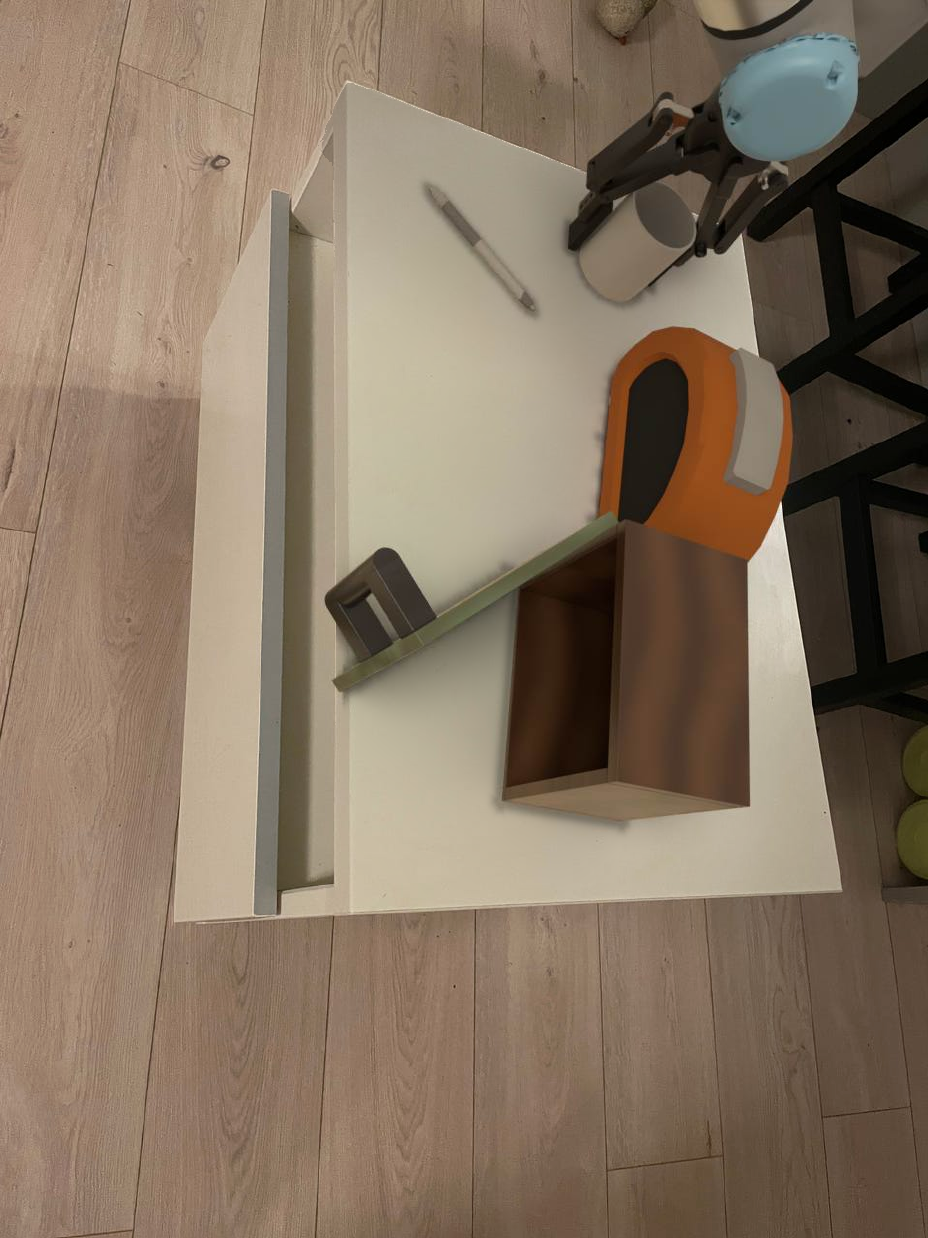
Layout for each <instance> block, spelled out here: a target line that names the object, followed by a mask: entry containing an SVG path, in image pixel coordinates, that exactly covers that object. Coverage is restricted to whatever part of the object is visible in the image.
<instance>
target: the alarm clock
mask: <svg viewBox="0 0 928 1238" xmlns="http://www.w3.org/2000/svg"><path fill="white" fill-rule="evenodd" d="M610 391H611V392H610V395H609V397H608V406H609V410H608V420H607V430H606V431H607V432H606V441H605V449H604V460H603V469H602V470H603V471H602V481H601V492H600V503H599V512H598V518H600V517H601V516H603V515H605V514H606V513H608V512H610V511H612V512H613V513H614V515H615V517H616V518H617V520H618V522H619V523H620V522H622V521H624V520H625V519H627V520H630V521H633V522H636V523H639V524H642V525H645V526H648V527H651V528H654V529H657V530H660V531H663V532H666V533H669V534H672V535H675V536H678V537H681V538H684V539H687V540H690V541H693V542H696V543H699V544H702V545H705V546H708V547H711V548H714V549H717V550H720V551H723V552H726V553H729V554H732V555H735V556H738V557H741V558H744V559H747V560H748V563H749V562H750V561H751V560H752V558H753V557H754V556H755V555H756V553H757V552H758V551H759V549H760V548H761V547H762V545H763V543H764V540H765V538H766V537H767V535H768V532H769V530H770V528H771V526H772V524H773V522H774V521H775V518H776V516H777V513H778V510H779V508H780V505H781V503H782V500H783V497H784V494H785V492H786V489H787V487H788V484H789V476H790V468H791V459H792V449H793V439H794V435H793V433H794V432H793V423H792V411H791V410H792V409H791V399H790V396H789V393H788V391H787V390H786V388H785V387H784V385H783V383H782V382H781V380H780V379H779V376H778V374H777V372H776V368H775V366H774V364H773V363H772V362H770V361H769V360H766V359H764V358H762V357H760V356H758V355H757V354H754V353H753V352H751V351H749V350H747V349H744V347H743V348H742V347H739V348H738V349H736V348H734V347H732V346H730V345H727V344H726V343H724V342H722V341H720V340H719V339H716V338H714V337H712V336H711V335H708V334H706V333H704V332H702V331H700V330H698V329H696V328H693V327H685V326H674V325H672V326H669V327H664V328H660V329H656V330H652V331H651V332H650V333H648V334H647V335H646V336H644V337H643V338H642V339H640V340H639V341H638V342H636V343H635V344H634V345H633V346H632V347H631V348H630V349H629V350H628V351H627V352H626V353H625V354H624V356H623V357H622V358H621V359H620V360H619V362H618V364H617V366H616V368H615V370H614V373H613V375H612V378H611V390H610Z"/></svg>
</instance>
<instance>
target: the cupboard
mask: <svg viewBox="0 0 928 1238" xmlns="http://www.w3.org/2000/svg"><path fill="white" fill-rule="evenodd" d="M748 564H749V562H748V560H747V559H744V558H741V557H738V556H735V555H732V554H729V553H726V552H723V551H720V550H717V549H714V548H711V547H708V546H705V545H702V544H699V543H696V542H693V541H690V540H687V539H684V538H681V537H678V536H675V535H672V534H669V533H666V532H663V531H660V530H657V529H654V528H651V527H648V526H645V525H642V524H639V523H636V522H633V521H630V520H627V519H625V520H624V521H622V522H620V523H618V524H617V525H615V526H613V527H612V528H610V529H609V530H607V531H606V532H604V533H602V534H601V535H599V536H598V537H596V538H595V539H593V540H591V541H590V542H588V543H587V544H585V545H583V546H582V547H580V548H579V549H577V550H576V551H574V552H572V553H571V554H569V555H568V556H566V557H565V558H563V559H561V560H560V561H558V562H557V563H555V564H553V565H552V566H550V567H549V568H547V569H546V570H544V571H542V572H541V573H539V574H538V575H536V576H534V577H533V578H531V579H530V580H528V581H527V582H525V583H523V584H522V585H520V586H519V587H517V597H516V608H515V609H516V612H515V624H514V635H513V637H514V638H513V648H512V649H513V650H512V662H511V675H510V677H511V678H510V689H509V703H508V713H507V715H508V716H507V727H506V741H505V755H504V766H503V778H502V779H503V780H502V790H501V791H502V792H501V793H502V794H501V801H502V802H504V803H505V802H506V803H510V804H511V803H512V804H518V805H522V806H529V807H536V808H540V809H546V810H552V811H556V812H557V811H558V812H562V813H563V812H564V813H570V814H576V815H582V816H587V817H593V818H599V819H605V820H610V821H611V820H612V821H616V822H624V821H632V820H643V819H651V818H661V817H670V816H677V815H679V816H680V815H688V814H689V815H690V814H696V813H705V812H714V811H715V812H717V811H722V810H723V811H725V810H732V809H742V808H743V809H744V808H750V807H751V756H750V755H751V753H750V752H751V751H750V749H751V748H750V747H751V745H750V743H751V742H750V741H751V740H750V739H751V738H750V663H749V662H750V659H749V657H750V656H749V655H750V654H749V653H750V651H749V650H750V649H749V646H750V645H749V570H748V569H749V568H748V567H749V565H748Z"/></svg>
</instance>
